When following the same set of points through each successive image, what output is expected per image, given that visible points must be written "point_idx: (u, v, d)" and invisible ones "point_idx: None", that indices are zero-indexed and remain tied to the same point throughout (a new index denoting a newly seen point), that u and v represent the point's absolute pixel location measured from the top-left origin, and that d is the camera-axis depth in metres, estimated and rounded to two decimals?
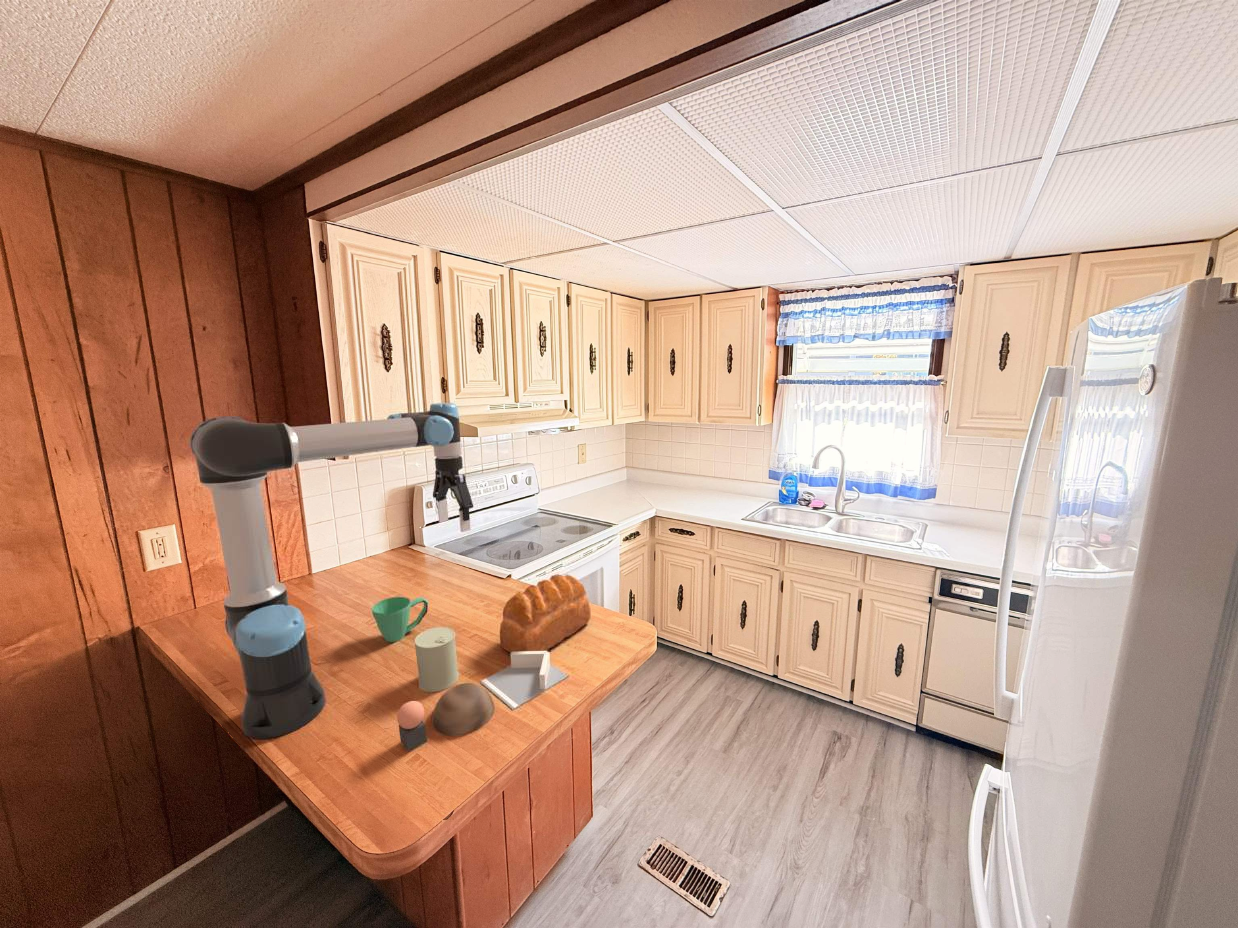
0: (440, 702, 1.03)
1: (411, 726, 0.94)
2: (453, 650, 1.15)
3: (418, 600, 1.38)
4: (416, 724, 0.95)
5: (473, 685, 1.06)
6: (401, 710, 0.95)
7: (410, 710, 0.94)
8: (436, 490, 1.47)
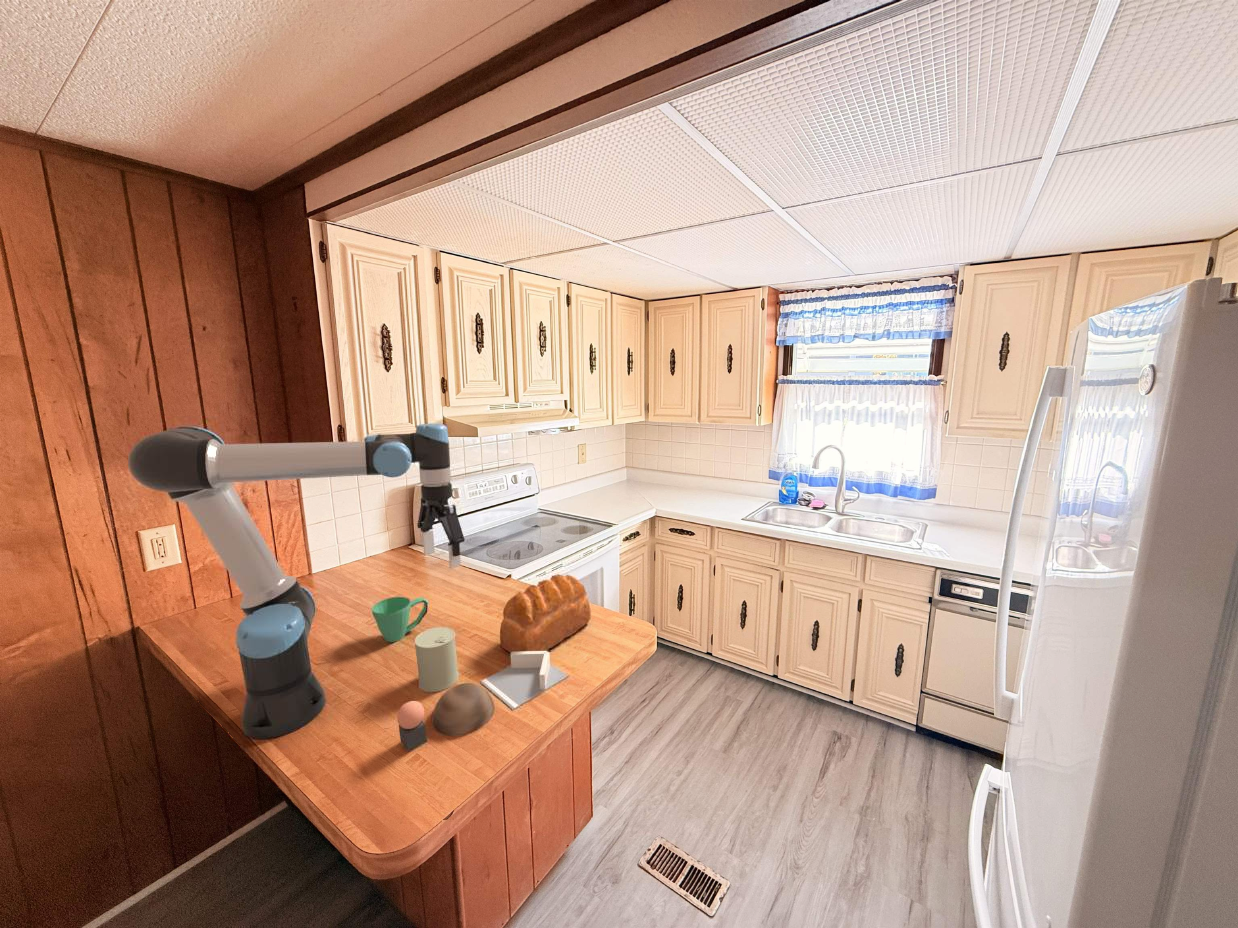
0: (440, 702, 1.03)
1: (411, 726, 0.94)
2: (453, 650, 1.15)
3: (418, 600, 1.38)
4: (416, 724, 0.95)
5: (473, 685, 1.06)
6: (401, 710, 0.95)
7: (410, 710, 0.94)
8: (421, 520, 1.32)
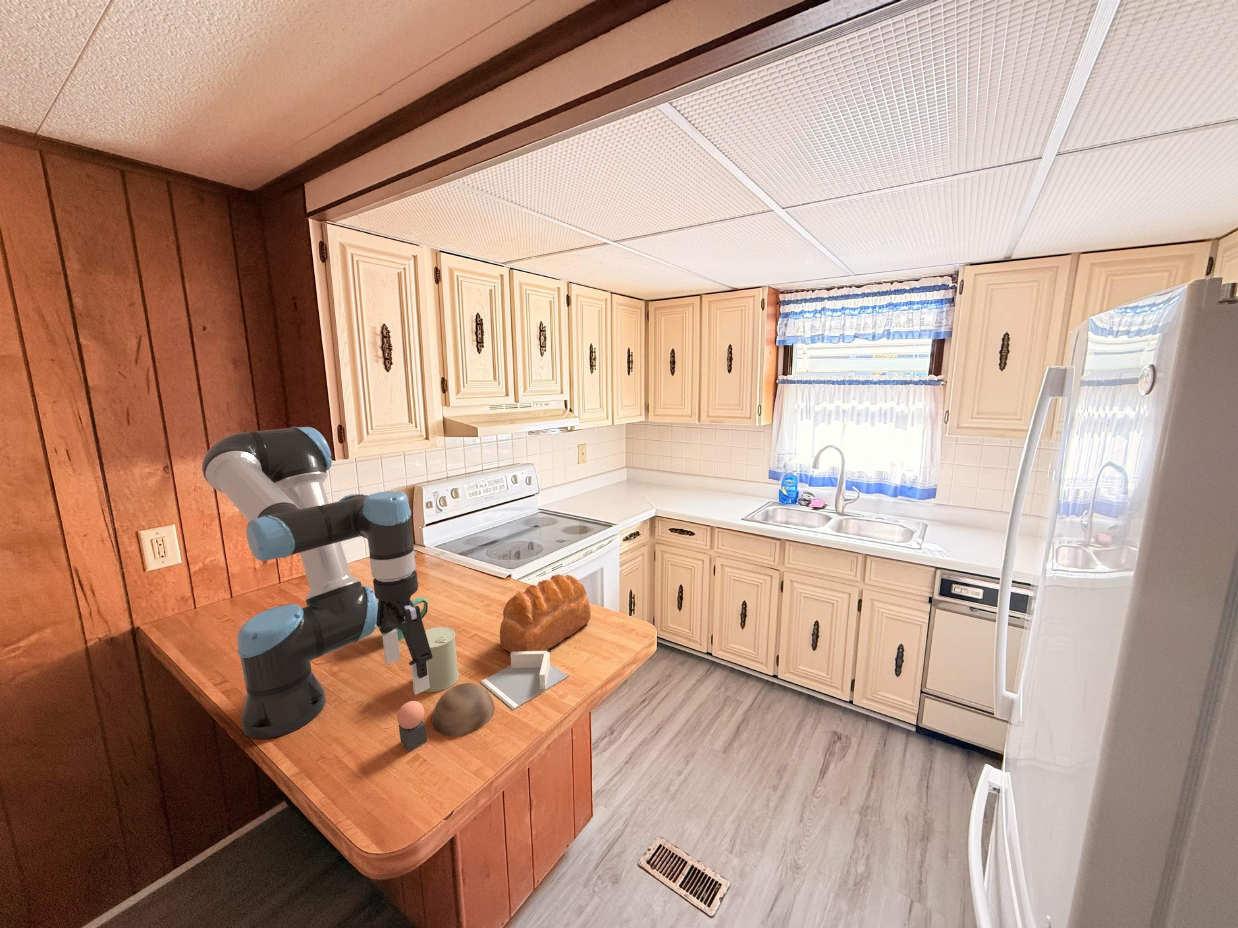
0: (440, 702, 1.03)
1: (411, 726, 0.94)
2: (453, 650, 1.15)
3: (418, 600, 1.38)
4: (416, 724, 0.95)
5: (473, 685, 1.06)
6: (401, 710, 0.95)
7: (410, 710, 0.94)
8: (381, 617, 0.97)
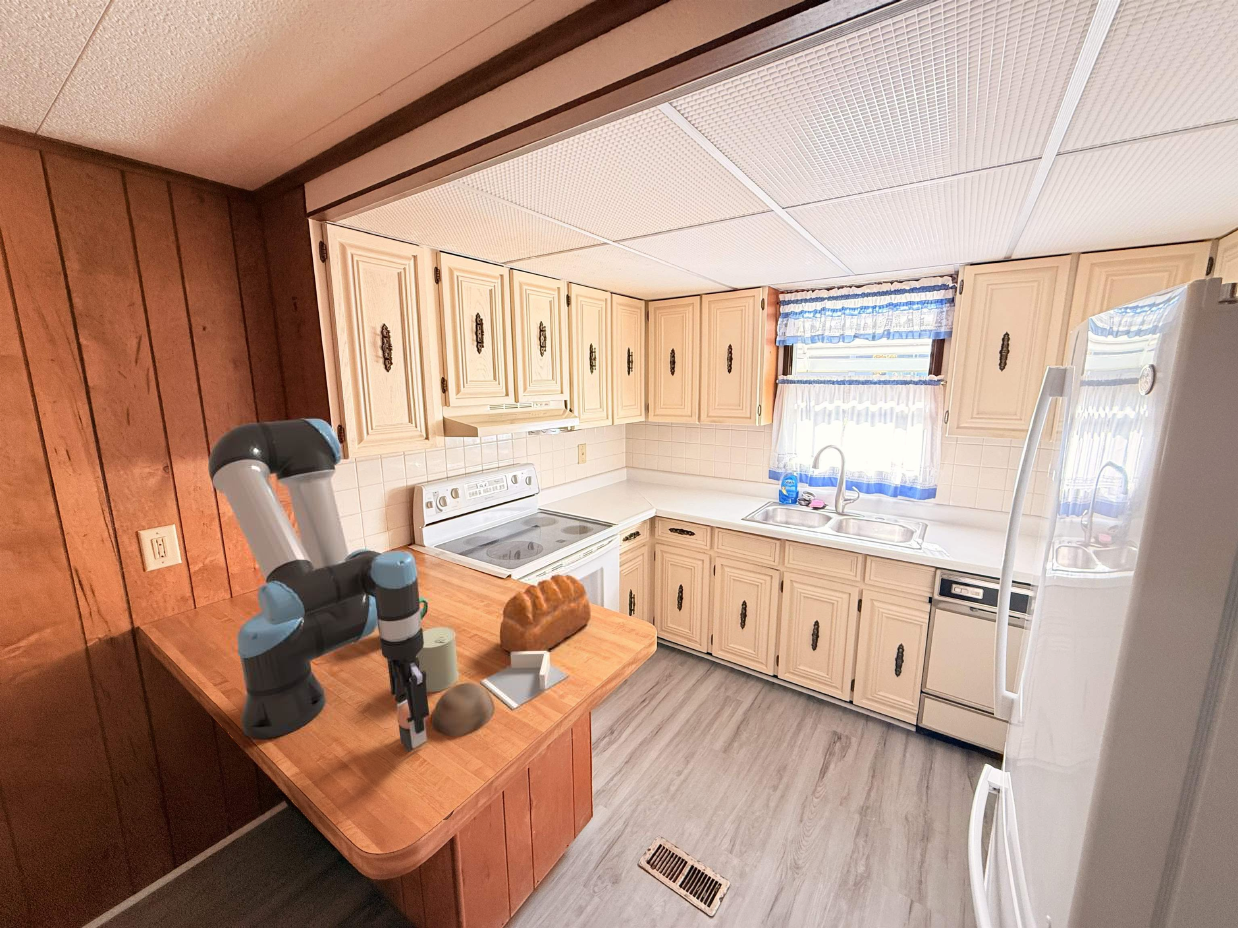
0: (440, 702, 1.03)
1: None
2: (453, 650, 1.15)
3: None
4: None
5: (473, 685, 1.06)
6: (401, 710, 0.95)
7: None
8: (393, 682, 0.98)
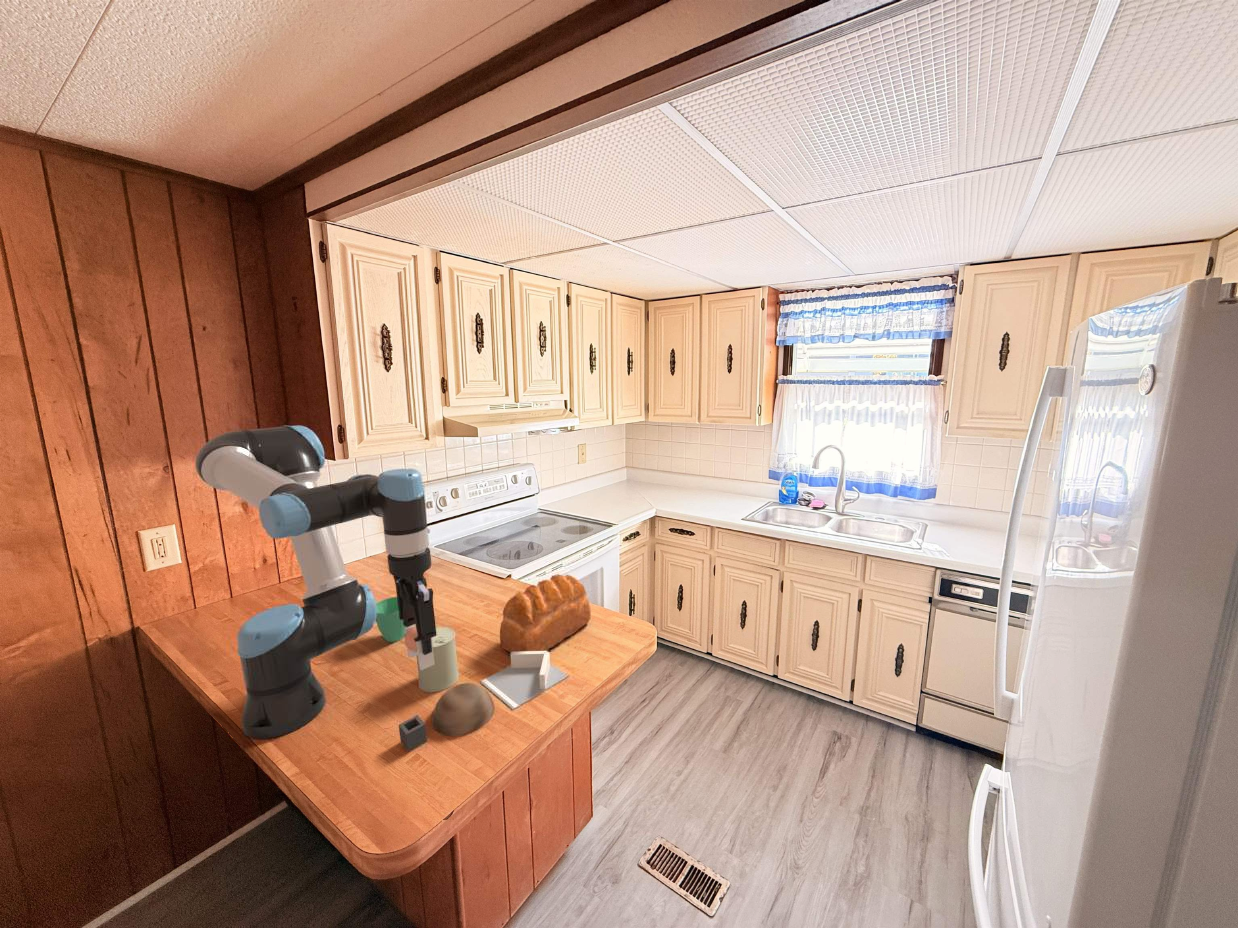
0: (440, 702, 1.03)
1: None
2: (453, 650, 1.15)
3: None
4: None
5: (473, 685, 1.06)
6: (408, 632, 0.94)
7: None
8: (401, 606, 0.97)
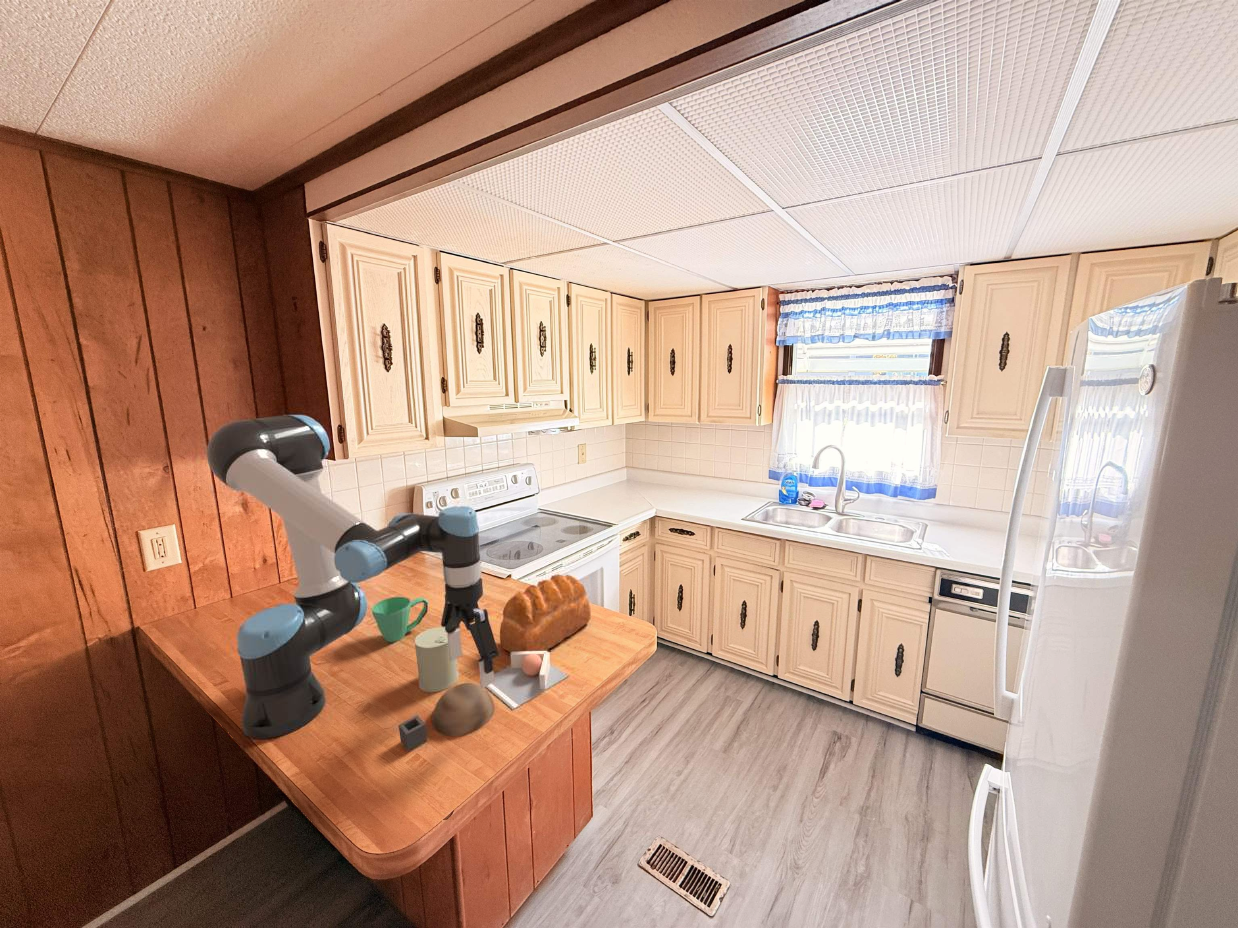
0: (440, 702, 1.03)
1: (534, 668, 1.15)
2: None
3: (418, 600, 1.38)
4: (537, 670, 1.16)
5: (473, 685, 1.06)
6: (531, 654, 1.18)
7: (539, 657, 1.18)
8: (446, 618, 1.08)
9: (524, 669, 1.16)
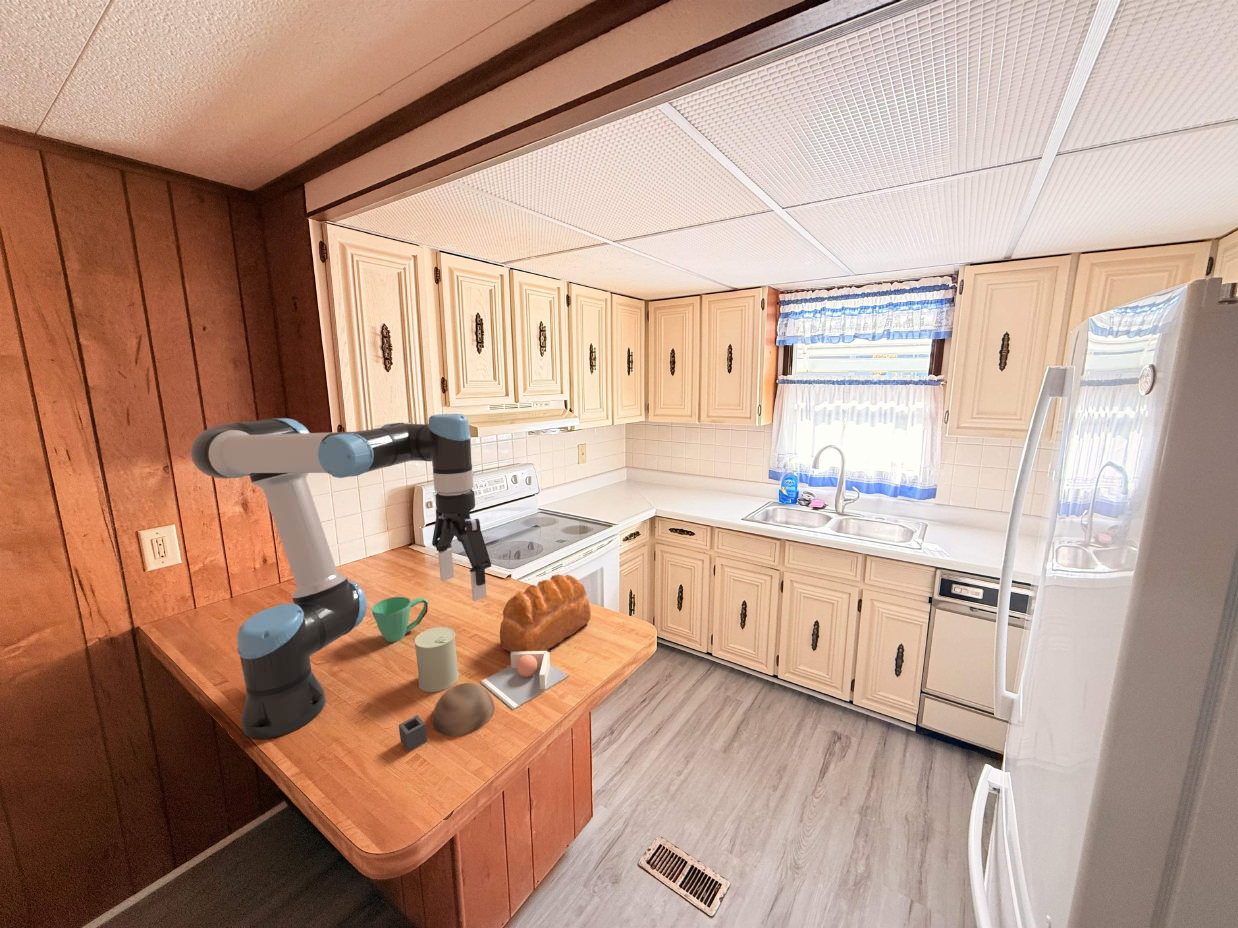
0: (440, 702, 1.03)
1: (528, 669, 1.15)
2: (453, 650, 1.15)
3: (418, 600, 1.38)
4: (531, 670, 1.15)
5: (473, 685, 1.06)
6: (522, 657, 1.17)
7: (529, 657, 1.17)
8: (437, 536, 1.04)
9: (520, 673, 1.16)
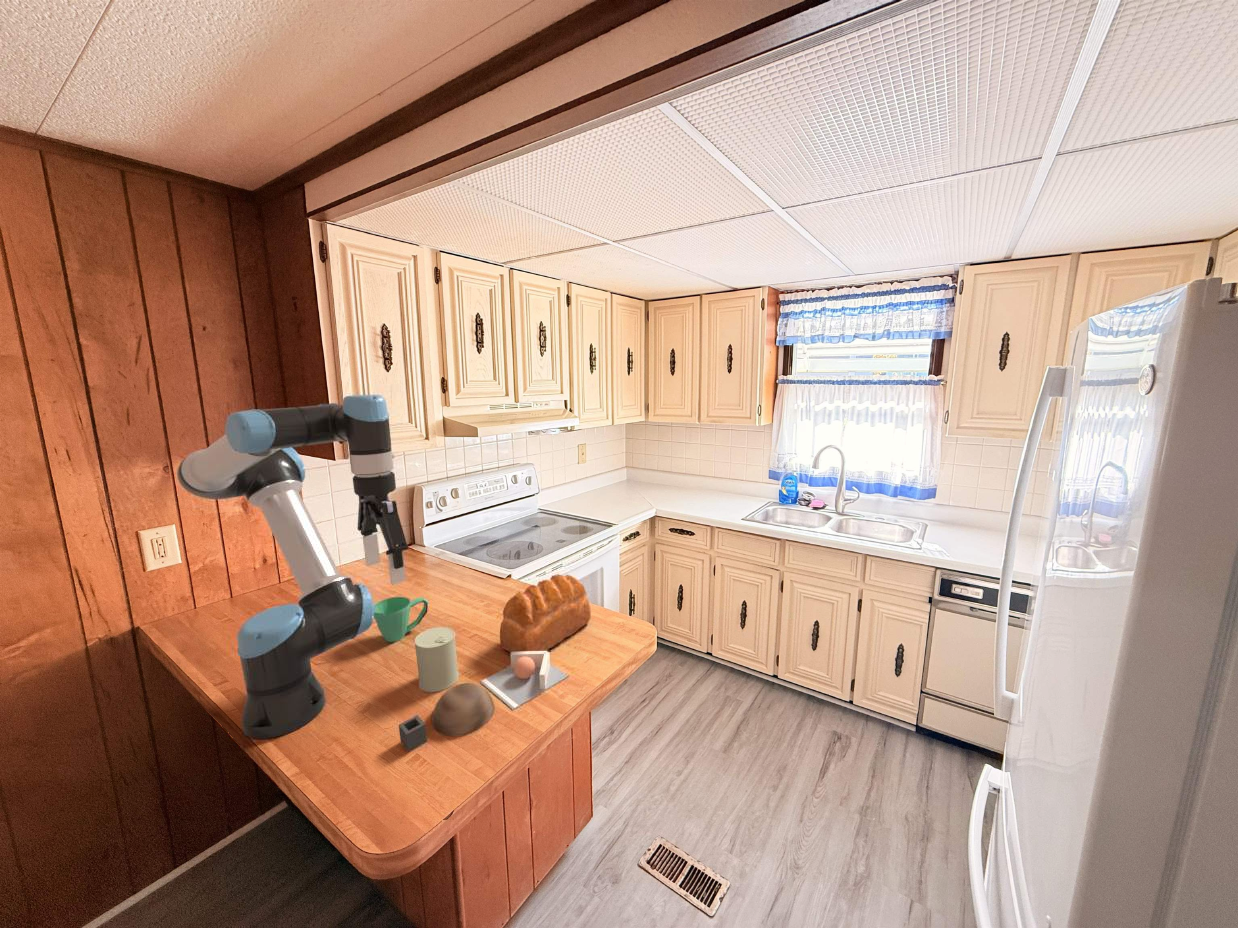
0: (440, 702, 1.03)
1: (525, 673, 1.14)
2: (453, 650, 1.15)
3: (418, 600, 1.38)
4: (529, 673, 1.15)
5: (473, 685, 1.06)
6: (517, 661, 1.16)
7: (524, 660, 1.15)
8: (361, 520, 1.03)
9: (519, 677, 1.16)
